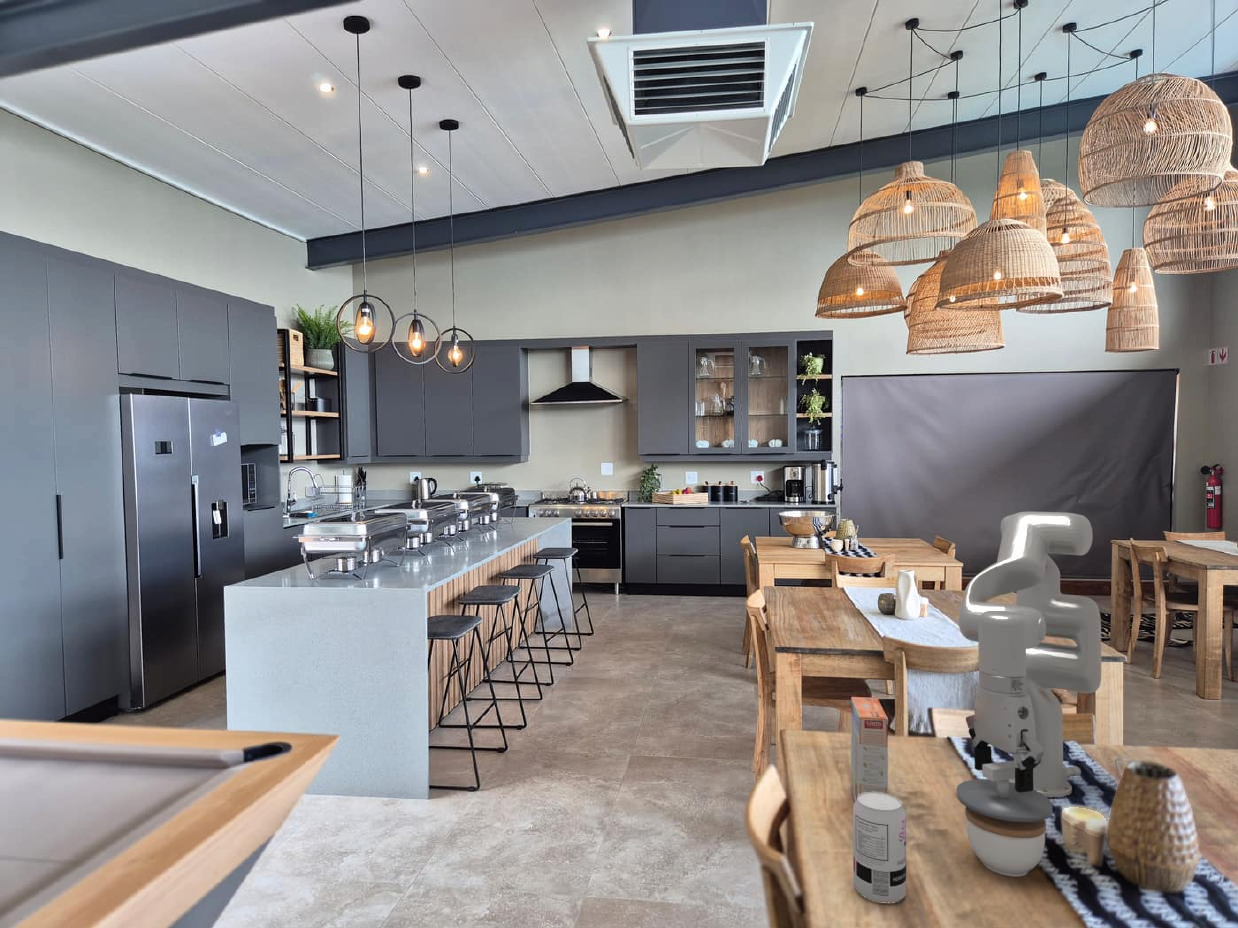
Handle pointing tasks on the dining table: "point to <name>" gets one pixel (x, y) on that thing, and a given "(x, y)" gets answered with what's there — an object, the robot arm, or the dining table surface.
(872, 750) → the cracker box
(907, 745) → the dining table surface
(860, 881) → the supplement can
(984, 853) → the lidded bowl
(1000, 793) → the lid
